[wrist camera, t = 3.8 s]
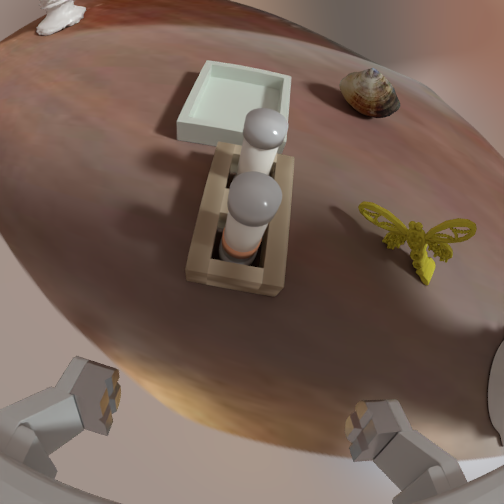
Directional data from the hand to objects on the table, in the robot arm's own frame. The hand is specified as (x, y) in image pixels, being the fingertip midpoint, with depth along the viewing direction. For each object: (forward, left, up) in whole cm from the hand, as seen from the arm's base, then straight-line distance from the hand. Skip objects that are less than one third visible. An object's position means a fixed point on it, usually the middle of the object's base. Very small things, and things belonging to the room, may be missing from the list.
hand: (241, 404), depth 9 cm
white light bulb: (0, -19, -16) cm, 25 cm away
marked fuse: (0, -12, -16) cm, 20 cm away
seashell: (-15, -40, -16) cm, 45 cm away
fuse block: (0, -16, -16) cm, 22 cm away
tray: (+3, -32, -16) cm, 35 cm away
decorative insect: (-17, -17, -16) cm, 29 cm away
